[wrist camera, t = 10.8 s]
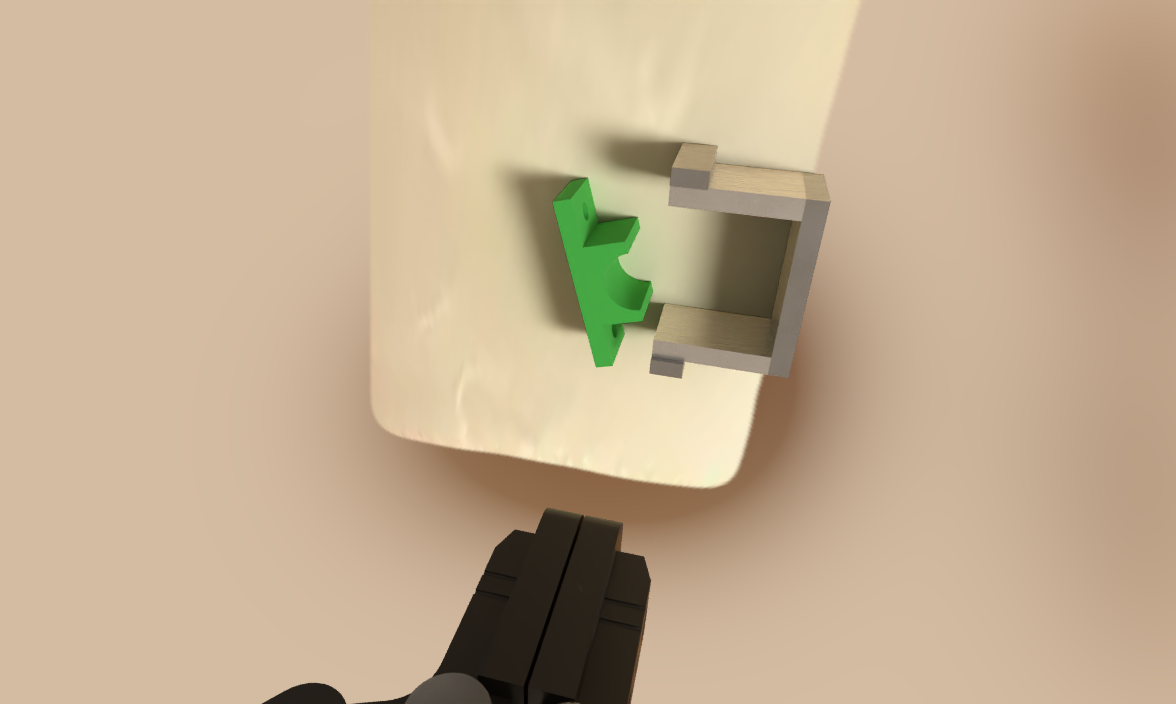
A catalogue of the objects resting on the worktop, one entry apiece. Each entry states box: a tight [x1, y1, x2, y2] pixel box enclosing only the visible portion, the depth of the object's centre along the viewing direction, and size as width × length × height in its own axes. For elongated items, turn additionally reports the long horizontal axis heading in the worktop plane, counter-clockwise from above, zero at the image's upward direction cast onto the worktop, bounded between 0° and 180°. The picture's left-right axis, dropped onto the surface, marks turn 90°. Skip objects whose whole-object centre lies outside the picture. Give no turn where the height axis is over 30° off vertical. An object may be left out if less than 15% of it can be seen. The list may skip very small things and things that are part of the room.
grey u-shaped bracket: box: [650, 143, 831, 379], centre depth 39 cm, size 13×8×5 cm, turn 177°
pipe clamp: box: [552, 178, 653, 367], centre depth 42 cm, size 11×4×5 cm, turn 14°
